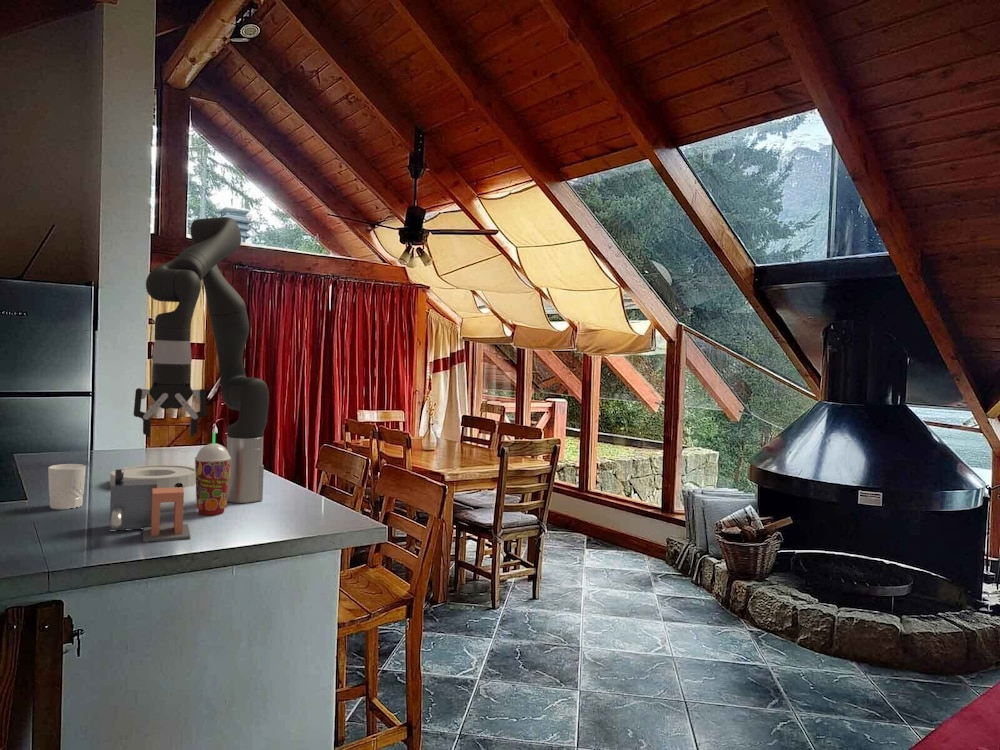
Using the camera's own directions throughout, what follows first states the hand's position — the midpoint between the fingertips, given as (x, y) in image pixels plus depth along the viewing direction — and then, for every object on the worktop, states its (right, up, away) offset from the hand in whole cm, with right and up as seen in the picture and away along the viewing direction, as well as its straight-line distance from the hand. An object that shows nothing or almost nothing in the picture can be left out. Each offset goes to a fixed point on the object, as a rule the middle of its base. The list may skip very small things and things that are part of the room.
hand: (170, 436), depth 149 cm
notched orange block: (-1, -21, +1) cm, 21 cm away
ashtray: (-30, -19, +53) cm, 64 cm away
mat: (-1, -21, +1) cm, 21 cm away
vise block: (-8, -21, 0) cm, 23 cm away
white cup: (-36, -20, +21) cm, 46 cm away
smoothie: (0, -21, +21) cm, 30 cm away
